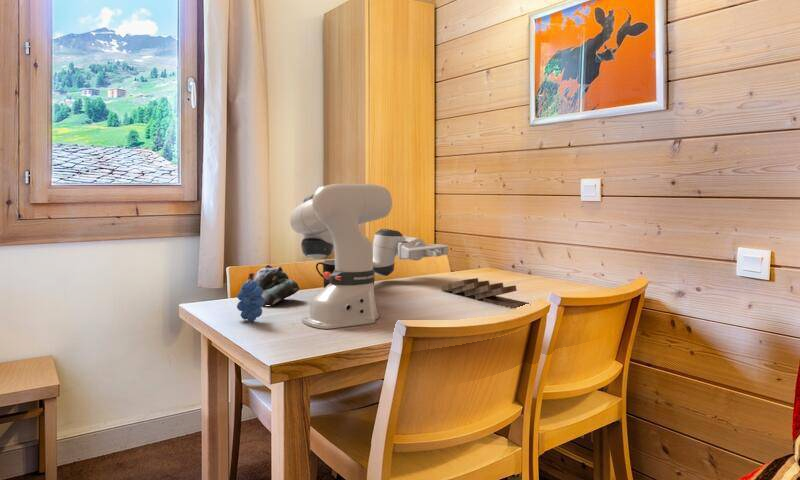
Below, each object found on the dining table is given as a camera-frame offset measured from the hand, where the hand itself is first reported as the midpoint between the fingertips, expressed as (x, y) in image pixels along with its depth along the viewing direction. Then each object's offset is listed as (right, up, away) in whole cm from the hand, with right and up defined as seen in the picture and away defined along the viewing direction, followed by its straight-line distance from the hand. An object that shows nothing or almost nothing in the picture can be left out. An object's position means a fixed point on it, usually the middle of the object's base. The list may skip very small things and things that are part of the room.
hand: (438, 254), depth 210 cm
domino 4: (+13, -14, -20) cm, 27 cm away
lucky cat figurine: (-56, -16, -26) cm, 64 cm away
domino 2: (+7, -13, -10) cm, 17 cm away
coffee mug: (-40, -12, -1) cm, 42 cm away
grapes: (-56, -18, -50) cm, 77 cm away
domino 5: (+16, -15, -22) cm, 31 cm away
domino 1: (+3, -12, -5) cm, 13 cm away
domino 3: (+11, -13, -15) cm, 22 cm away
